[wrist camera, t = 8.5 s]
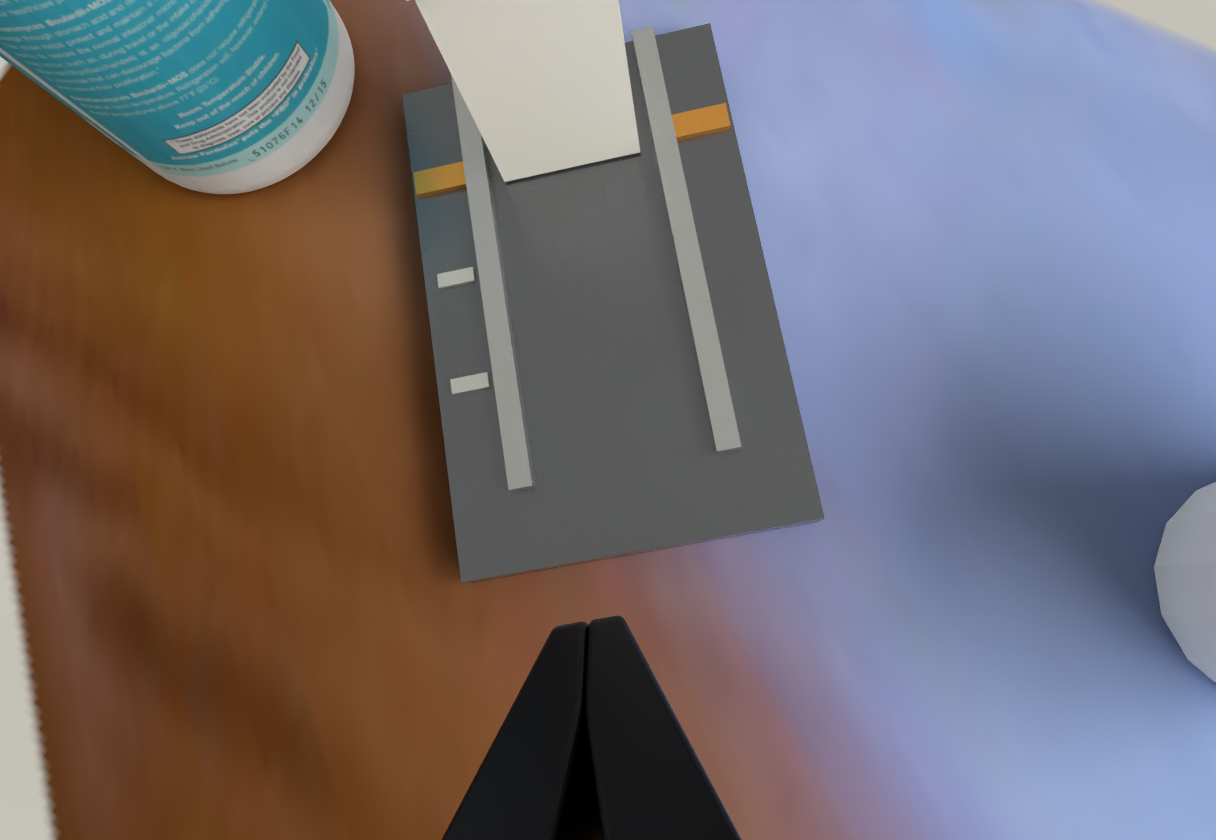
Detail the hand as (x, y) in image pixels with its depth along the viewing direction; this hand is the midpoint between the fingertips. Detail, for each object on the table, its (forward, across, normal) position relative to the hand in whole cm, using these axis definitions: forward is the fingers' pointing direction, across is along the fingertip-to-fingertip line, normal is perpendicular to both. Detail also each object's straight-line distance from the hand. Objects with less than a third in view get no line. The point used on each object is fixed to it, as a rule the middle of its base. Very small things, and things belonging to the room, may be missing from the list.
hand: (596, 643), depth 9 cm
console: (+13, 0, +1) cm, 13 cm away
